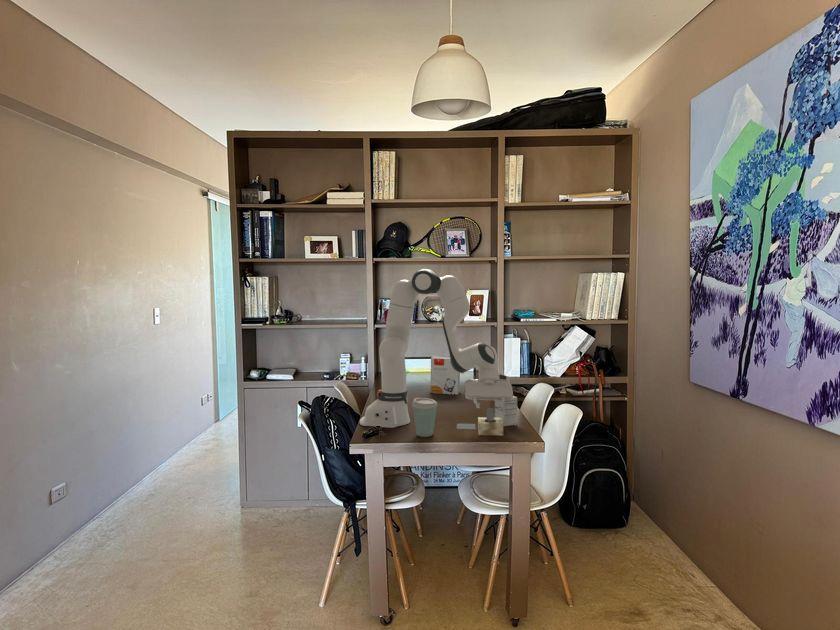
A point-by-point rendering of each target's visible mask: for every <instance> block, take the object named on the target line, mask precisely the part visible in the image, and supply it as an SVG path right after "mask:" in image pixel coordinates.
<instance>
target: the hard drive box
mask: <svg viewBox="0 0 840 630" xmlns="http://www.w3.org/2000/svg"><path fill="white" fill-rule="evenodd" d="M460 374H461V373H460V372H458V371H456V370H454V369H453V367H452V365H451V361H450V356H443V355H442V356H441V355H440V356H439V355H437V356H436V355H433V356H432V357H430V393H431V394H435V395H436V394H440V395H451V394H452V395H454V394H455V395H456V396H457V395H459V394H460V392H461V391H460V388H461V385H460V383H461V379H460V377H461V375H460Z"/></svg>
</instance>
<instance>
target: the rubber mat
mask: <svg viewBox="0 0 840 630" xmlns="http://www.w3.org/2000/svg"><path fill="white" fill-rule="evenodd" d="M456 430H476V423H456Z"/></svg>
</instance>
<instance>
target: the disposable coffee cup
mask: <svg viewBox="0 0 840 630" xmlns="http://www.w3.org/2000/svg"><path fill="white" fill-rule="evenodd" d="M411 406H412V413H413V420H414V428H415V433H416V435H417V437H423V438H427V437H431V436H433V434H434V428H435V421H436V416H437V410H438V409H437V408H438V401H436V400H435V399H432V398H427V397H416V398H413V401H412V402H411Z"/></svg>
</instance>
